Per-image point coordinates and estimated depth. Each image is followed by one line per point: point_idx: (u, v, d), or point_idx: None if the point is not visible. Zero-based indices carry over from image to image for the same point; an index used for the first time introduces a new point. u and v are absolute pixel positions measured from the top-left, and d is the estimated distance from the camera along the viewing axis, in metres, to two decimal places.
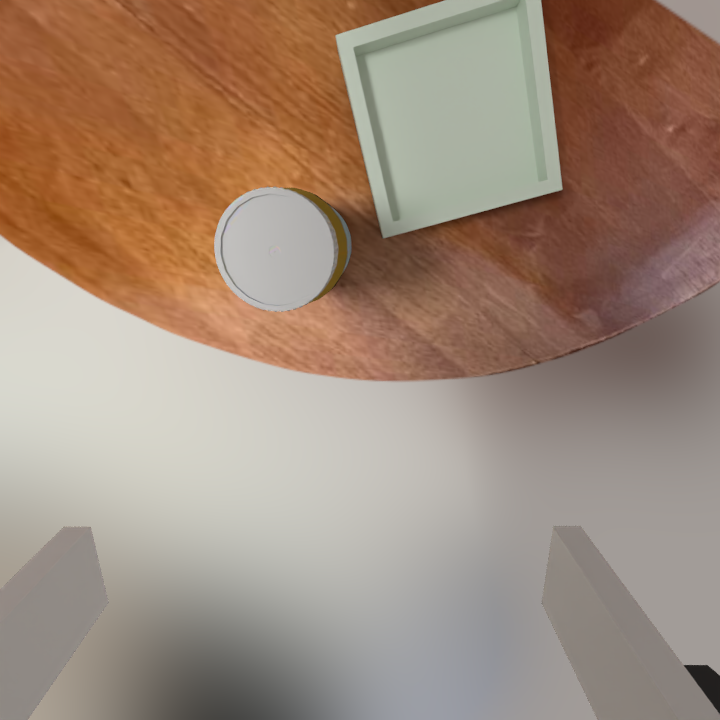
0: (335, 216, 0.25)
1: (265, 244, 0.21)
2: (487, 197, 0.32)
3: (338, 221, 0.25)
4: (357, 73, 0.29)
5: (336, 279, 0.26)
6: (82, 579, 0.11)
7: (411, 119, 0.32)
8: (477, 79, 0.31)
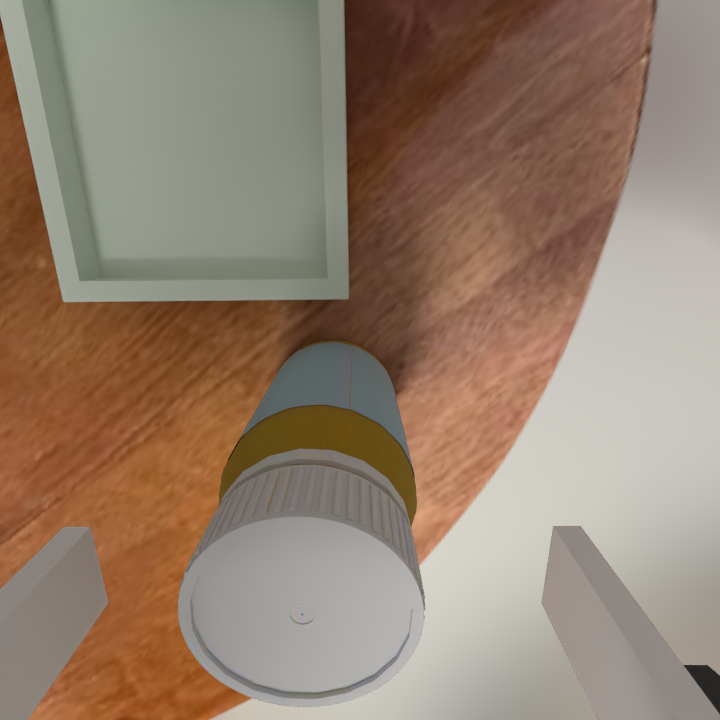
0: (280, 423, 0.13)
1: (284, 626, 0.10)
2: (324, 105, 0.18)
3: (289, 420, 0.13)
4: (113, 282, 0.20)
5: (389, 448, 0.14)
6: (82, 579, 0.11)
7: (189, 211, 0.21)
8: (145, 89, 0.19)
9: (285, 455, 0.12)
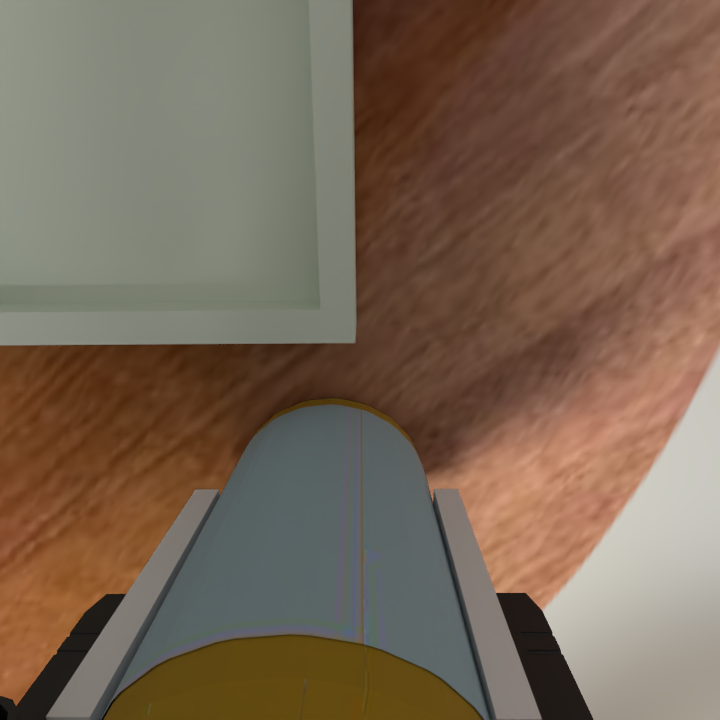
0: (190, 710, 0.05)
1: None
2: (312, 1, 0.10)
3: (213, 707, 0.05)
4: None
5: None
6: None
7: (98, 198, 0.13)
8: None
9: None
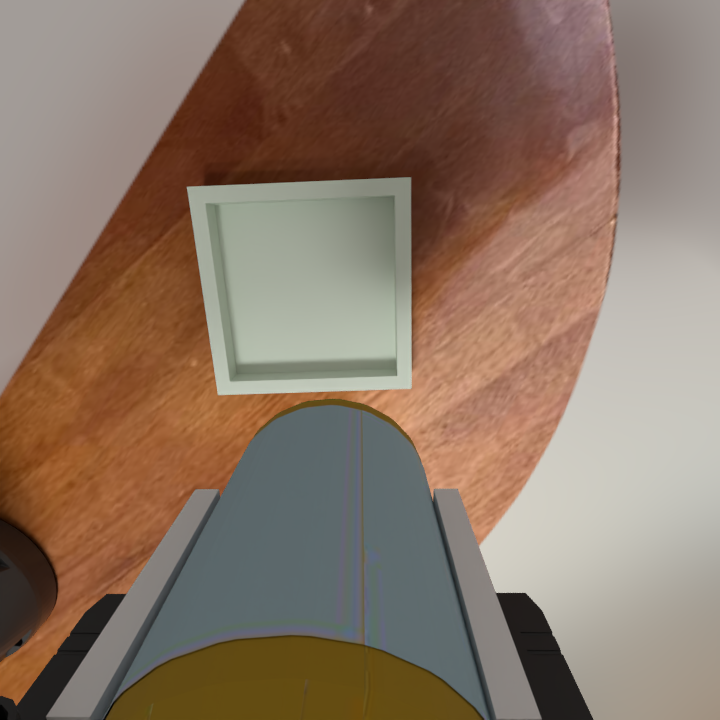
0: (192, 711, 0.05)
1: None
2: (397, 269, 0.27)
3: (214, 708, 0.05)
4: (252, 381, 0.30)
5: None
6: None
7: (300, 329, 0.30)
8: (275, 255, 0.29)
9: None
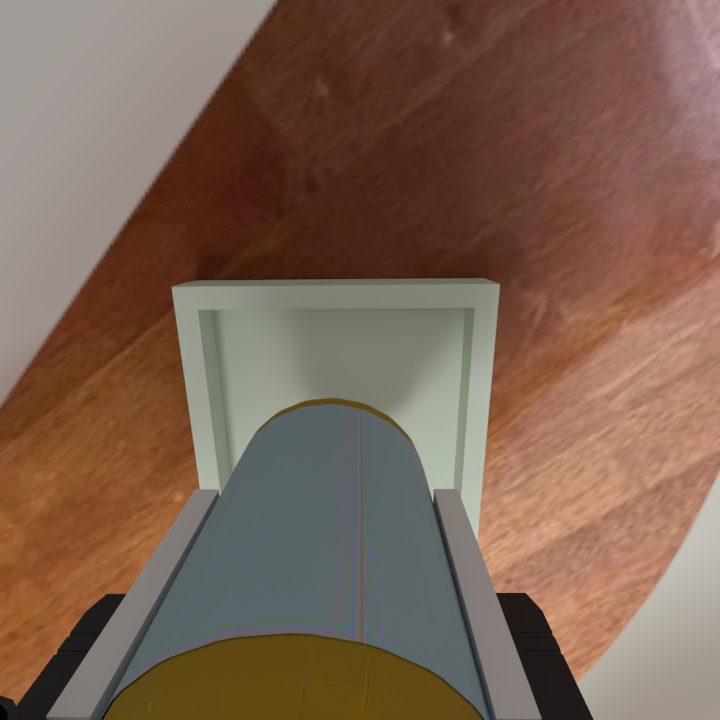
0: (190, 709, 0.05)
1: None
2: (469, 405, 0.19)
3: (213, 706, 0.05)
4: None
5: None
6: None
7: None
8: (294, 371, 0.21)
9: None
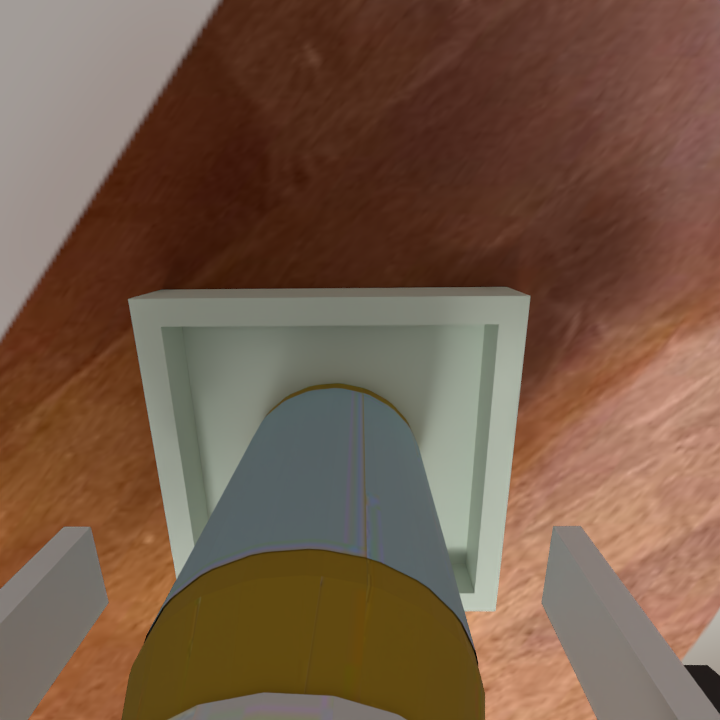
0: (233, 598, 0.07)
1: None
2: (490, 441, 0.16)
3: (251, 595, 0.07)
4: None
5: (442, 645, 0.07)
6: (82, 579, 0.11)
7: None
8: (281, 397, 0.17)
9: (230, 713, 0.06)
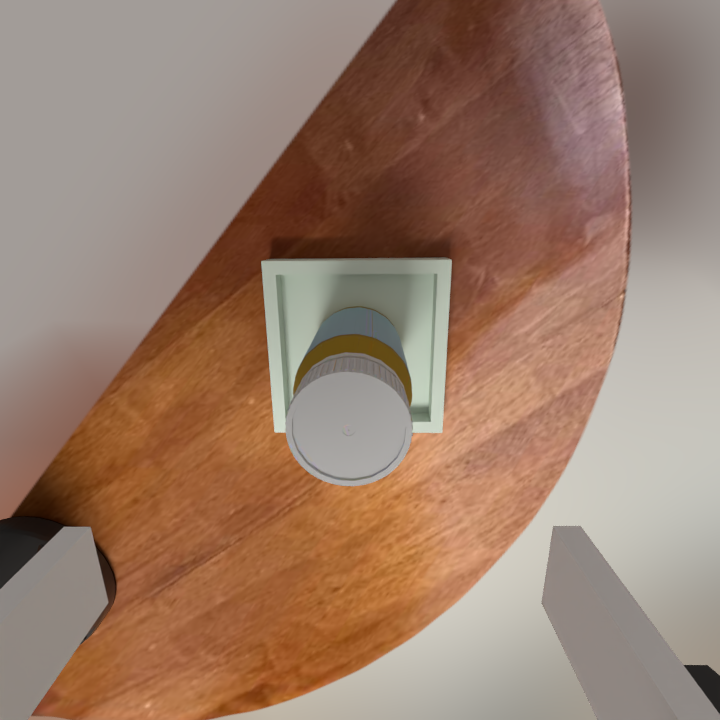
0: (332, 342, 0.23)
1: (339, 436, 0.20)
2: (435, 334, 0.32)
3: (338, 340, 0.23)
4: None
5: (396, 359, 0.23)
6: (82, 579, 0.11)
7: None
8: (329, 315, 0.33)
9: (337, 355, 0.22)
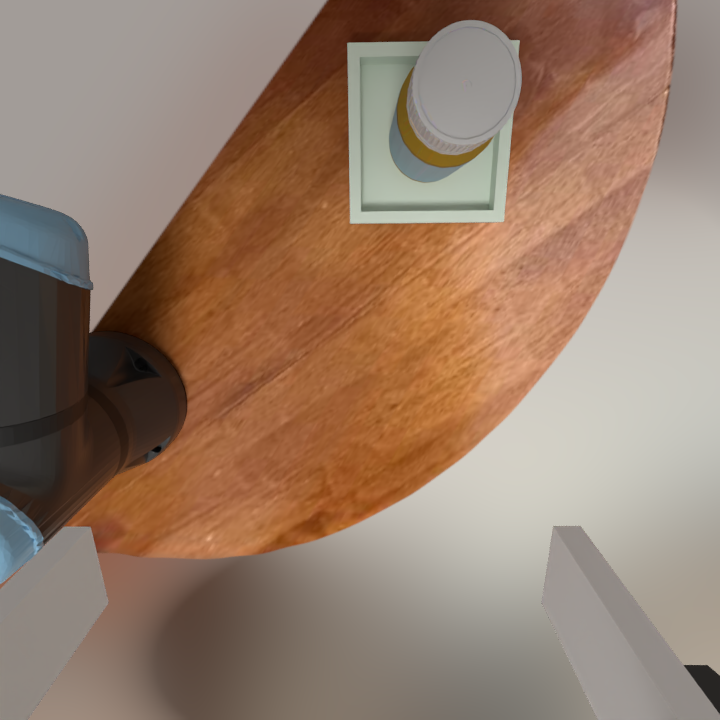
0: None
1: (457, 92, 0.23)
2: None
3: None
4: (378, 212, 0.38)
5: None
6: (82, 579, 0.11)
7: None
8: None
9: None
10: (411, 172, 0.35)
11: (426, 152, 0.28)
